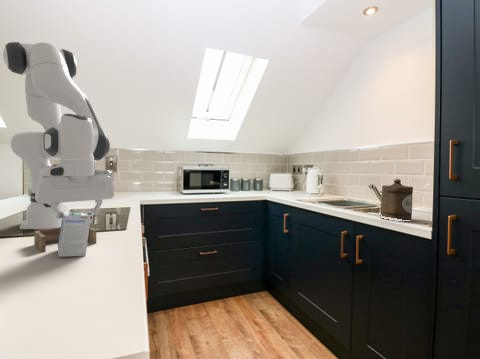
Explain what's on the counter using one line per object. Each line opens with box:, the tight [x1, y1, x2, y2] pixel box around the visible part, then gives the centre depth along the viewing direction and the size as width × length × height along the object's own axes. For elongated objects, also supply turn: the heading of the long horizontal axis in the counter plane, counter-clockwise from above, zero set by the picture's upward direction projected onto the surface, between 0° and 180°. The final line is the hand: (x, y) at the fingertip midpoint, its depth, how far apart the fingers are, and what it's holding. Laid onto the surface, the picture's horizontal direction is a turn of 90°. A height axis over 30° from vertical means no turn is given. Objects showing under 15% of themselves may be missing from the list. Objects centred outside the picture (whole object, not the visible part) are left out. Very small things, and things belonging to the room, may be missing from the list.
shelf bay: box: [33, 226, 97, 253], centre depth 90 cm, size 10×15×4 cm
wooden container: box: [380, 178, 414, 221], centre depth 151 cm, size 15×15×22 cm
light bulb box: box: [57, 212, 92, 258], centre depth 81 cm, size 11×7×11 cm, turn 35°
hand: (77, 216), depth 82 cm, fingers open, 8 cm apart
